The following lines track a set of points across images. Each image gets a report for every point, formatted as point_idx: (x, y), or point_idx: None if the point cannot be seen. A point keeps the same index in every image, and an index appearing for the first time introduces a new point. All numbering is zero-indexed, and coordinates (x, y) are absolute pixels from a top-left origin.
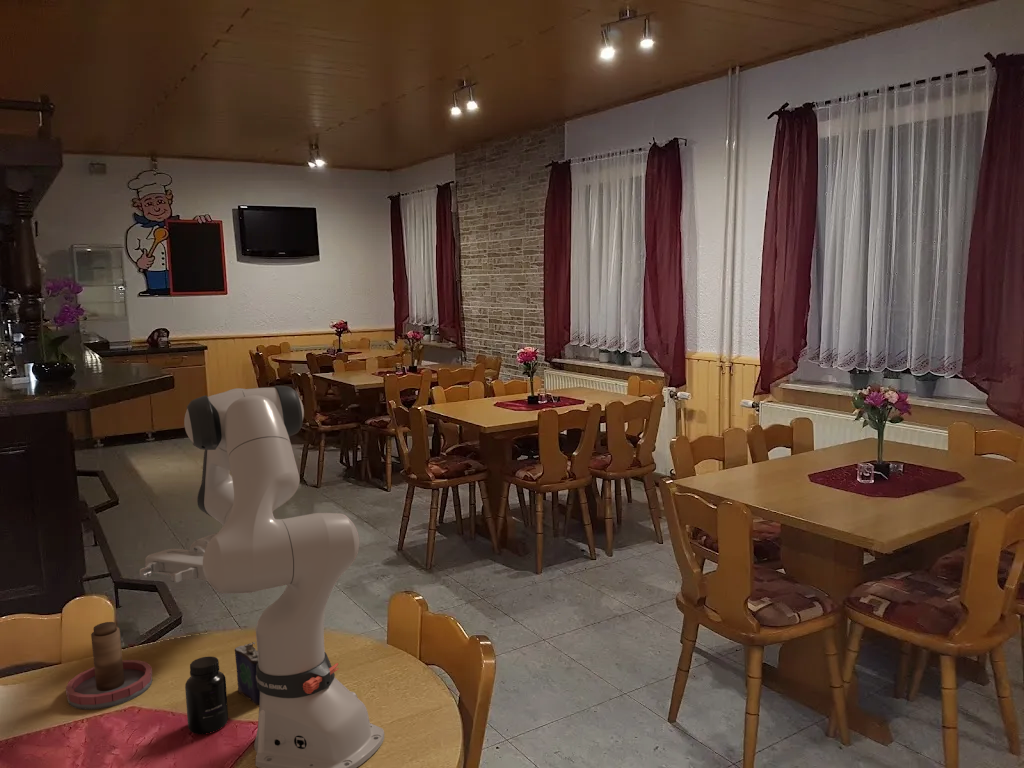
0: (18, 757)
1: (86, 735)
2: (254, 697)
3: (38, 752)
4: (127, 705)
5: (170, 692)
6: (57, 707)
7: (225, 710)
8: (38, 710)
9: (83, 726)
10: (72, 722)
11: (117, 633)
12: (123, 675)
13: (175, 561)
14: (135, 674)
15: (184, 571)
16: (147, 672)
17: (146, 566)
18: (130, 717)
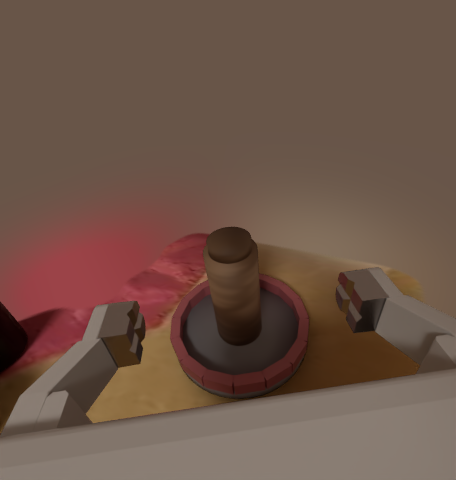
0: (190, 235)
1: (158, 272)
2: None
3: (179, 244)
4: (168, 323)
5: (128, 380)
6: None
7: None
8: (270, 265)
9: (179, 277)
10: (201, 274)
11: (206, 262)
12: (222, 332)
13: (262, 400)
14: (235, 368)
15: (67, 351)
16: (190, 361)
17: (408, 297)
18: None
